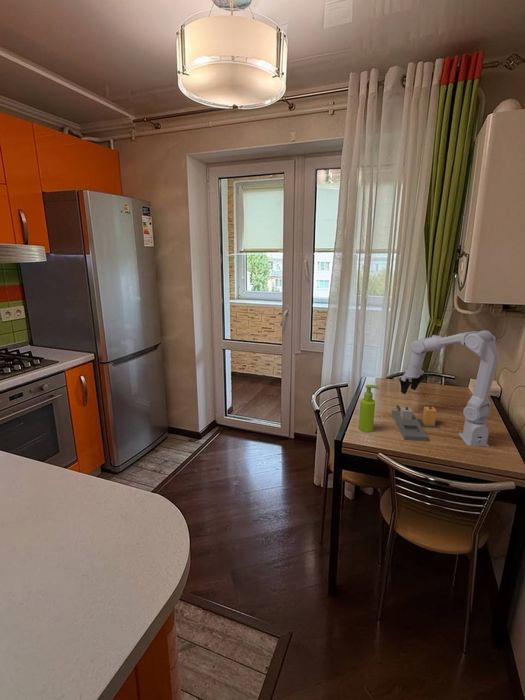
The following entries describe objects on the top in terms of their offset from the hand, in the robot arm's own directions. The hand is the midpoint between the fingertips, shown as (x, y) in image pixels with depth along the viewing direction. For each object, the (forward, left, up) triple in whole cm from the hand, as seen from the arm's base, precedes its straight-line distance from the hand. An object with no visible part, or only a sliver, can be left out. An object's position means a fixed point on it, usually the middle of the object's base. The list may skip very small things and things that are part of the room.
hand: (408, 391), depth 171 cm
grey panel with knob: (-12, +3, -11) cm, 16 cm away
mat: (-12, -7, -11) cm, 17 cm away
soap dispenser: (-20, +21, -11) cm, 31 cm away
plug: (-12, -7, -10) cm, 17 cm away
